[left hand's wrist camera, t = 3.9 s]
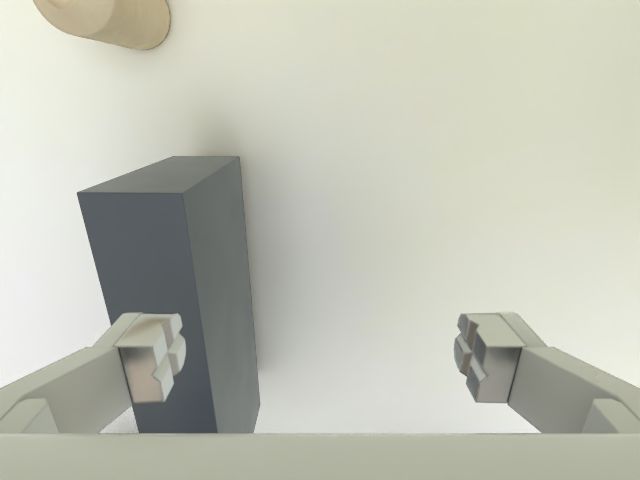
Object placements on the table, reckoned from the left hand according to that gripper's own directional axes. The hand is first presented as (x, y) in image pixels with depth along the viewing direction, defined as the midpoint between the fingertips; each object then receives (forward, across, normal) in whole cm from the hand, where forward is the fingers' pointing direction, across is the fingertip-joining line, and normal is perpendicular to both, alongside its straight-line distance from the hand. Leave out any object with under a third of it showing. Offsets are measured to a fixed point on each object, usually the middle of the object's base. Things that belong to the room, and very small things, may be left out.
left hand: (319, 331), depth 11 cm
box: (+22, -10, -12) cm, 27 cm away
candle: (+27, -15, +13) cm, 33 cm away
